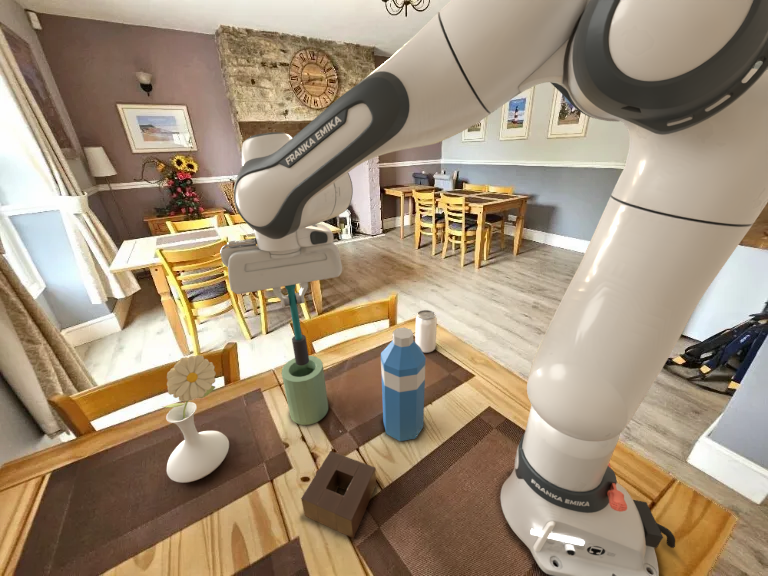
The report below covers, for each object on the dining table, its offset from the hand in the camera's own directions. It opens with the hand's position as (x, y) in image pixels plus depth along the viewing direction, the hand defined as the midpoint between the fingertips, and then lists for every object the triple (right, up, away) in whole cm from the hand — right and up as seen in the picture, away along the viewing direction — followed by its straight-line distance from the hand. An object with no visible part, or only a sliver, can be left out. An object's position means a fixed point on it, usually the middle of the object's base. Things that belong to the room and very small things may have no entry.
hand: (293, 303), depth 61 cm
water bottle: (+22, -29, +11) cm, 38 cm away
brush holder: (+10, -36, -4) cm, 37 cm away
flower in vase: (-20, -33, +4) cm, 39 cm away
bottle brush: (0, -13, +6) cm, 14 cm away
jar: (-1, -27, +16) cm, 31 cm away
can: (+31, -16, +38) cm, 52 cm away
